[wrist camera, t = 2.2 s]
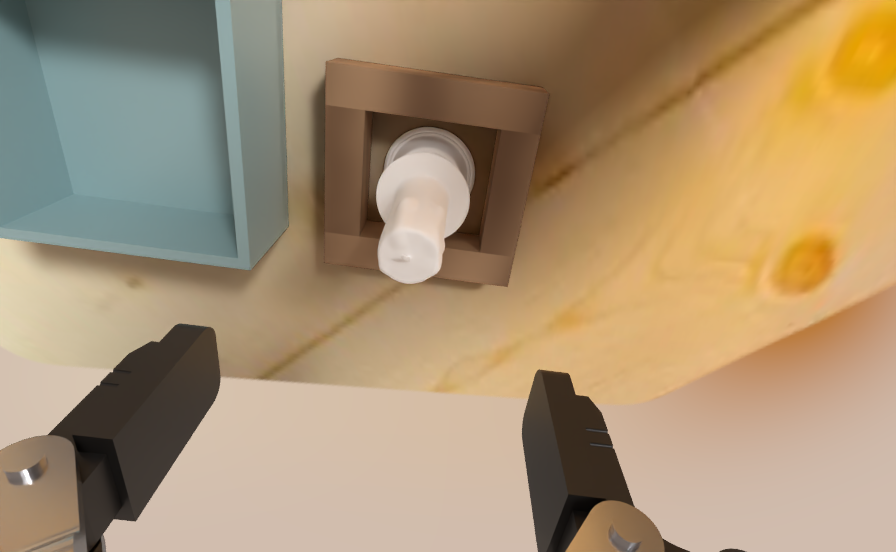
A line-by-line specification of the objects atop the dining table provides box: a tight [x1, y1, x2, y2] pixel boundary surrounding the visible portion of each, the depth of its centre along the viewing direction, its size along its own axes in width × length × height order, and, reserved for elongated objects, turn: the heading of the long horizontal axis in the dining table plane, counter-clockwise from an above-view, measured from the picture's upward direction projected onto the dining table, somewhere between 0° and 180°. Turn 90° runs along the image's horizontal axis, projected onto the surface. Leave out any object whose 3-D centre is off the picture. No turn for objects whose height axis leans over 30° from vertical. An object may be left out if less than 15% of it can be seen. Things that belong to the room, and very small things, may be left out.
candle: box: [376, 127, 475, 284], centre depth 23 cm, size 5×5×12 cm
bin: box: [0, 0, 289, 270], centre depth 24 cm, size 13×13×6 cm
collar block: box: [324, 58, 549, 287], centre depth 27 cm, size 11×11×2 cm
